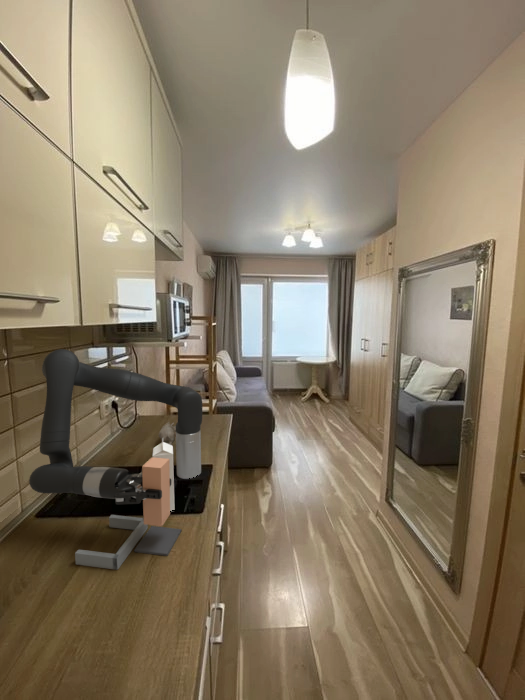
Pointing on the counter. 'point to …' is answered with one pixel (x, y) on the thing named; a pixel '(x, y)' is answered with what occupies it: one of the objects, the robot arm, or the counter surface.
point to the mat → (158, 541)
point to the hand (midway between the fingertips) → (166, 488)
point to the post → (157, 478)
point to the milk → (167, 452)
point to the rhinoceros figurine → (167, 433)
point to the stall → (117, 559)
